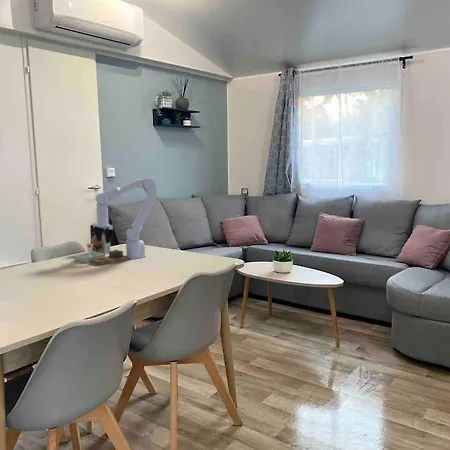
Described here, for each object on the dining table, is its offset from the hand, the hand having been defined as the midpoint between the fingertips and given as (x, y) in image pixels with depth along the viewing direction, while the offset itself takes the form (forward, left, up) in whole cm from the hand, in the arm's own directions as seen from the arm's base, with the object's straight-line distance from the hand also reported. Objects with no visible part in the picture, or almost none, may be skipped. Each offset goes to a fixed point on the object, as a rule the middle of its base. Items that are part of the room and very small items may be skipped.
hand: (103, 241), depth 247 cm
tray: (+6, -4, -9) cm, 12 cm away
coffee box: (-9, -16, -10) cm, 21 cm away
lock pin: (+6, -4, -9) cm, 11 cm away
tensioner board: (+2, +7, -9) cm, 12 cm away
